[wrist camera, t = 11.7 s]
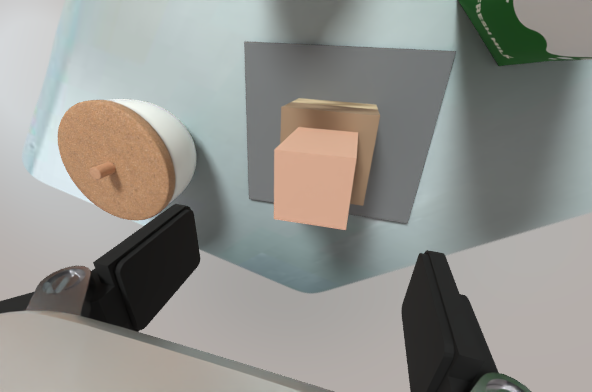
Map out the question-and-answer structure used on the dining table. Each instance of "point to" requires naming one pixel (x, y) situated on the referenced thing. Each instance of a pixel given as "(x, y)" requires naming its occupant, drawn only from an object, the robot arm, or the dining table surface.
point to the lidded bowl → (126, 155)
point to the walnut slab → (341, 121)
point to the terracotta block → (315, 177)
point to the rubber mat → (356, 89)
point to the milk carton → (533, 29)
